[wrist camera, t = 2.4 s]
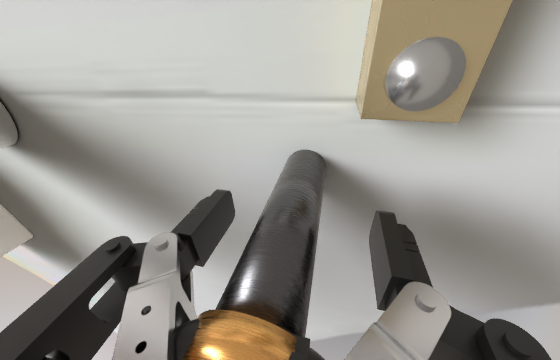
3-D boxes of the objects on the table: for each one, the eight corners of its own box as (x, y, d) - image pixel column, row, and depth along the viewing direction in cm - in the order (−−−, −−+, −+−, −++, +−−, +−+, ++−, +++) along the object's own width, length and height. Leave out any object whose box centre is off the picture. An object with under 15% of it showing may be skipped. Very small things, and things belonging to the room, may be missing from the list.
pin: (282, 186, 18) (193, 391, 7) (281, 143, 16) (152, 344, 5) (328, 191, 17) (307, 436, 6) (334, 146, 15) (315, 401, 4)
